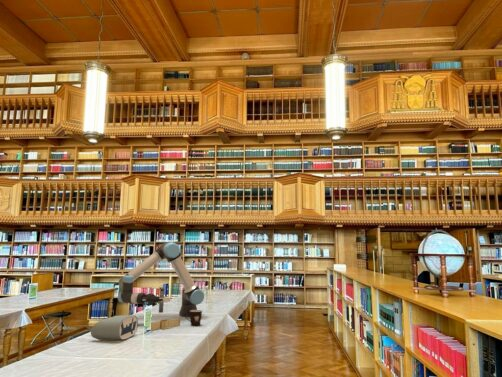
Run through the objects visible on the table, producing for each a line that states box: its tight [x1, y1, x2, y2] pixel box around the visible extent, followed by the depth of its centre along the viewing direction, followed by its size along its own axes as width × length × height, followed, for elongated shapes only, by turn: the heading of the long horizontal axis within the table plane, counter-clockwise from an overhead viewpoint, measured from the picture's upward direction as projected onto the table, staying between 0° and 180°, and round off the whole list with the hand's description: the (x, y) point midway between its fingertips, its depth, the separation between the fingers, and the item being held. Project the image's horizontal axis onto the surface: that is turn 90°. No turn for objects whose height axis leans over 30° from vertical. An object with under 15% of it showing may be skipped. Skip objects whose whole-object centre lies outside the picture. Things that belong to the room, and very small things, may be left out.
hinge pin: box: [158, 286, 166, 314], centre depth 267 cm, size 4×4×17 cm
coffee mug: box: [184, 309, 203, 327], centre depth 270 cm, size 12×9×10 cm
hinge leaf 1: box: [150, 320, 169, 331], centre depth 254 cm, size 16×6×5 cm, turn 137°
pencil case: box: [90, 314, 139, 341], centre depth 230 cm, size 22×19×13 cm
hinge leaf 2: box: [159, 317, 181, 330], centre depth 262 cm, size 16×6×5 cm, turn 137°
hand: (168, 299), depth 266 cm, fingers closed on hinge pin, 3 cm apart
